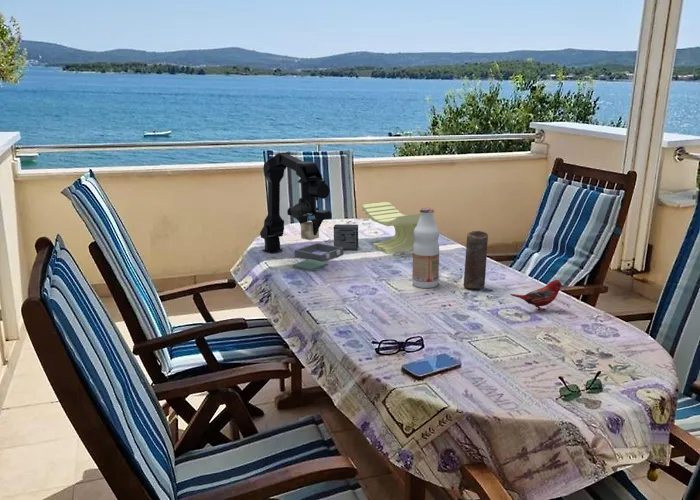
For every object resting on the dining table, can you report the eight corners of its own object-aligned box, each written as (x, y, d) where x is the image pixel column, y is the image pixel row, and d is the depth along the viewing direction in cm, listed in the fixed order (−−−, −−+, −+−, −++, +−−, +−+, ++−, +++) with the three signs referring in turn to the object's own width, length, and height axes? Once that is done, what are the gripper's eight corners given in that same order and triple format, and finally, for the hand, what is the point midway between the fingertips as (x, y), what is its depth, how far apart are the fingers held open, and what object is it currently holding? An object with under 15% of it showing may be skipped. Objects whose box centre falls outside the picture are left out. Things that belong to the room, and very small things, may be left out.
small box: (358, 246, 272) (358, 223, 269) (357, 250, 265) (357, 227, 263) (335, 246, 273) (335, 223, 270) (333, 250, 266) (333, 227, 264)
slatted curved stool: (429, 253, 259) (430, 212, 255) (397, 258, 252) (398, 216, 248) (392, 238, 285) (392, 201, 280) (362, 242, 278) (362, 204, 273)
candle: (487, 286, 217) (490, 231, 212) (482, 292, 211) (485, 236, 206) (466, 283, 221) (468, 229, 215) (461, 289, 214) (463, 234, 209)
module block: (301, 238, 240) (300, 223, 239) (309, 235, 244) (309, 221, 243) (310, 240, 237) (310, 225, 236) (319, 237, 241) (318, 222, 240)
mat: (292, 266, 243) (292, 264, 243) (309, 261, 250) (309, 258, 250) (311, 271, 237) (311, 268, 237) (327, 265, 245) (327, 262, 244)
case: (294, 256, 257) (294, 250, 256) (317, 249, 268) (317, 242, 267) (322, 262, 248) (322, 255, 247) (344, 254, 259) (344, 248, 258)
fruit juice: (414, 288, 215) (415, 211, 208) (410, 280, 224) (411, 206, 217) (440, 288, 216) (442, 211, 208) (435, 280, 225) (438, 205, 217)
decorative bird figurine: (563, 310, 193) (566, 280, 191) (511, 314, 191) (512, 284, 188) (559, 307, 196) (561, 278, 194) (507, 311, 193) (509, 281, 191)
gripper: (276, 196, 236) (278, 235, 240) (313, 200, 225) (314, 241, 229) (296, 191, 244) (297, 229, 248) (332, 196, 233) (333, 235, 237)
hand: (309, 234), depth 240 cm, fingers closed on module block, 5 cm apart
